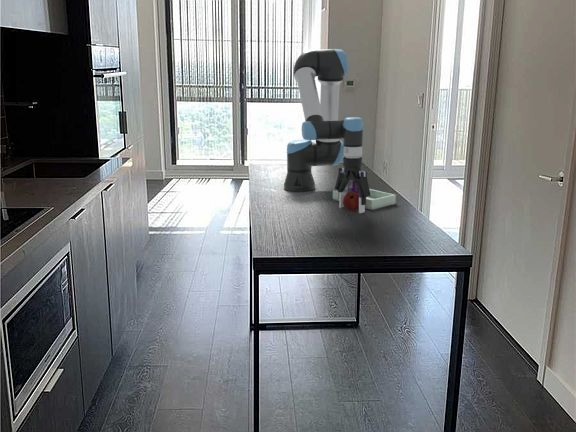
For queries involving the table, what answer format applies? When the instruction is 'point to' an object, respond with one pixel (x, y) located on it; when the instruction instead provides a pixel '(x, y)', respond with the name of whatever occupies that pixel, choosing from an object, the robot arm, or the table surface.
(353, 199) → the apple
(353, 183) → the beverage can
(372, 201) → the tote
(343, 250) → the table surface
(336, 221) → the table surface
